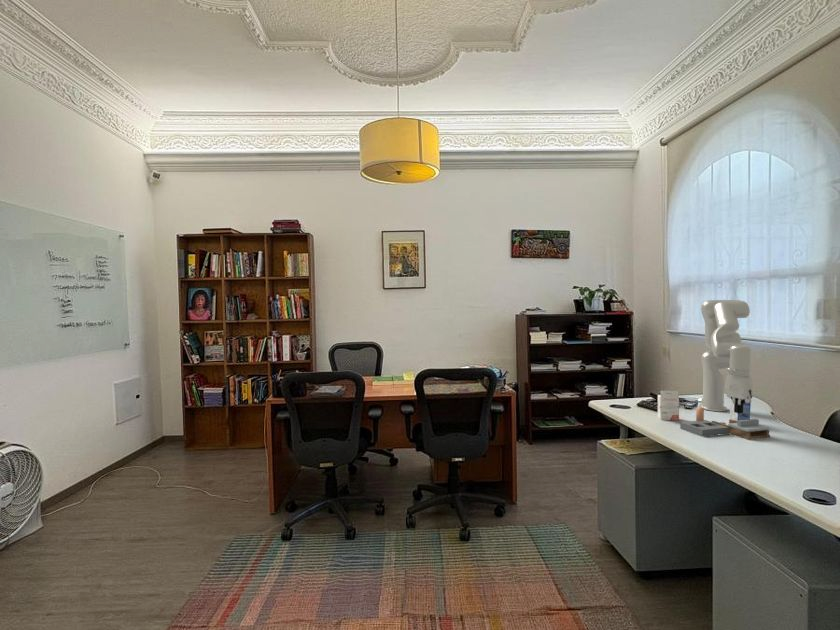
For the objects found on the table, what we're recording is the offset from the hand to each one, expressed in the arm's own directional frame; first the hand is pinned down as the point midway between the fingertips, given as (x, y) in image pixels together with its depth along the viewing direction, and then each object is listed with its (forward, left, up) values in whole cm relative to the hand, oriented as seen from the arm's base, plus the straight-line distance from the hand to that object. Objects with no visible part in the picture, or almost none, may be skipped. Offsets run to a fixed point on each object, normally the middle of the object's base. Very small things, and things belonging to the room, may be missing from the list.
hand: (738, 412), depth 195 cm
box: (+1, 0, -9) cm, 9 cm away
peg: (-13, -7, -9) cm, 17 cm away
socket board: (-4, -14, -9) cm, 17 cm away
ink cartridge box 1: (-25, -14, -9) cm, 30 cm away
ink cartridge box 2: (-10, +13, -9) cm, 18 cm away
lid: (+5, 0, -5) cm, 7 cm away
